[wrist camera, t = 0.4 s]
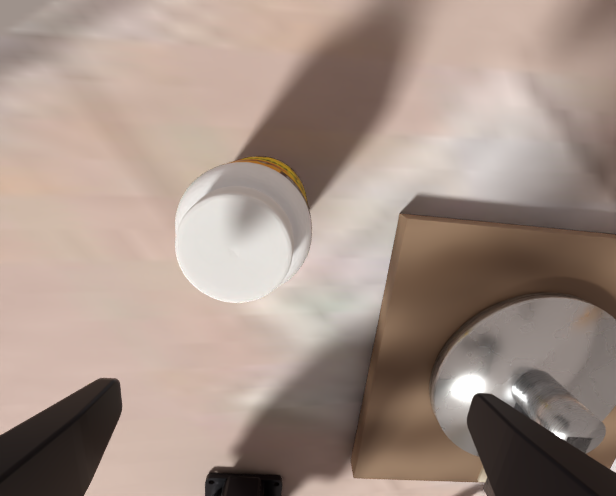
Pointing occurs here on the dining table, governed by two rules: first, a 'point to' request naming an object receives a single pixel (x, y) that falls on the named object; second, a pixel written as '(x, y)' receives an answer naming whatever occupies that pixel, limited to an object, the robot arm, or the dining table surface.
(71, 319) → the dining table surface
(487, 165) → the dining table surface
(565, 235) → the dial base
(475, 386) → the dial
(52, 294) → the dining table surface
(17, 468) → the robot arm
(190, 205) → the supplement bottle
